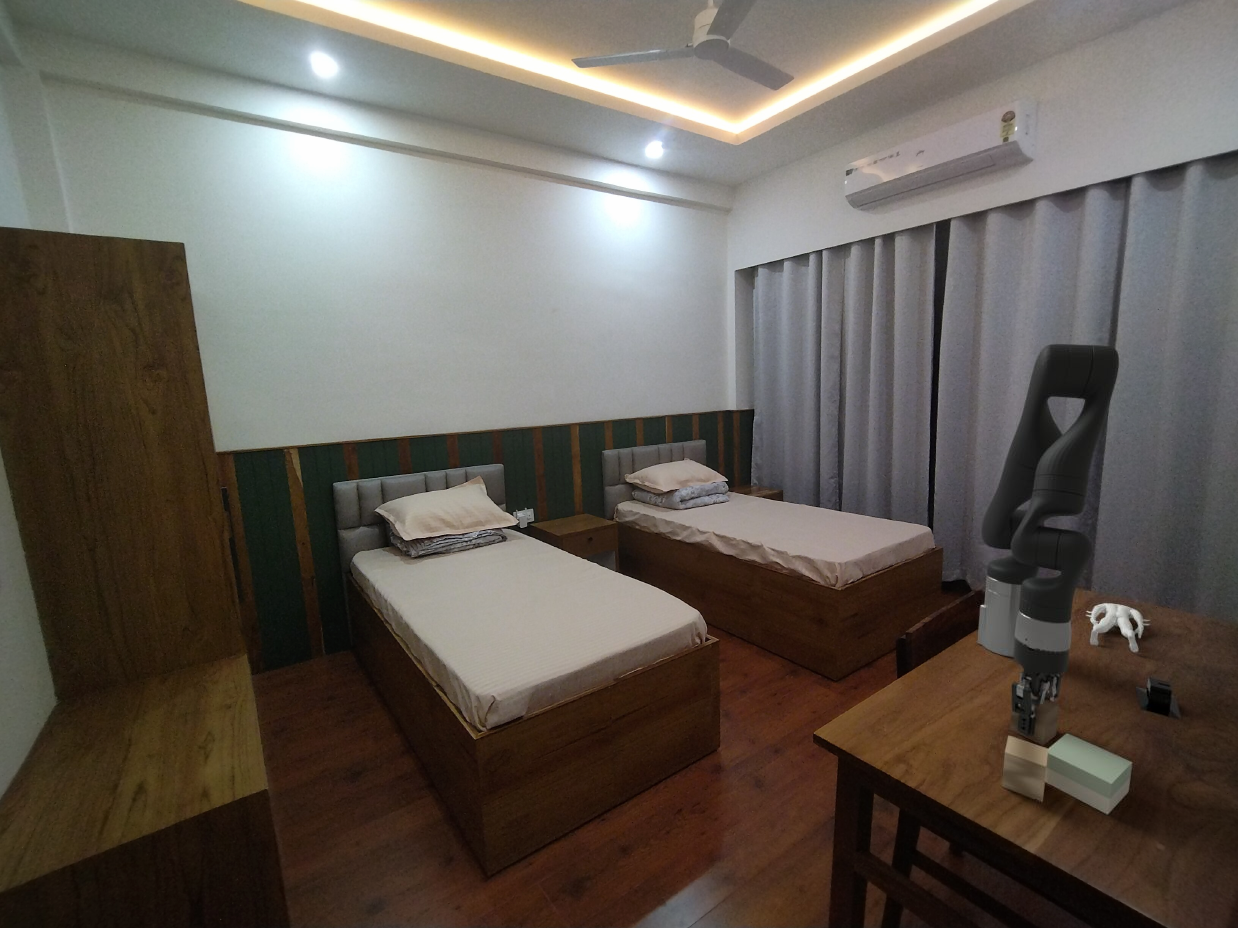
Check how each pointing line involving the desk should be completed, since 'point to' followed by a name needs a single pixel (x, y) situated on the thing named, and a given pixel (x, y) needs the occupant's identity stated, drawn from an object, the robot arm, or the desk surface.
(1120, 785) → the brick base
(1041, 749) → the brick
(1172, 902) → the desk surface
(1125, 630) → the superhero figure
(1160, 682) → the black angular block
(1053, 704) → the walnut brick
